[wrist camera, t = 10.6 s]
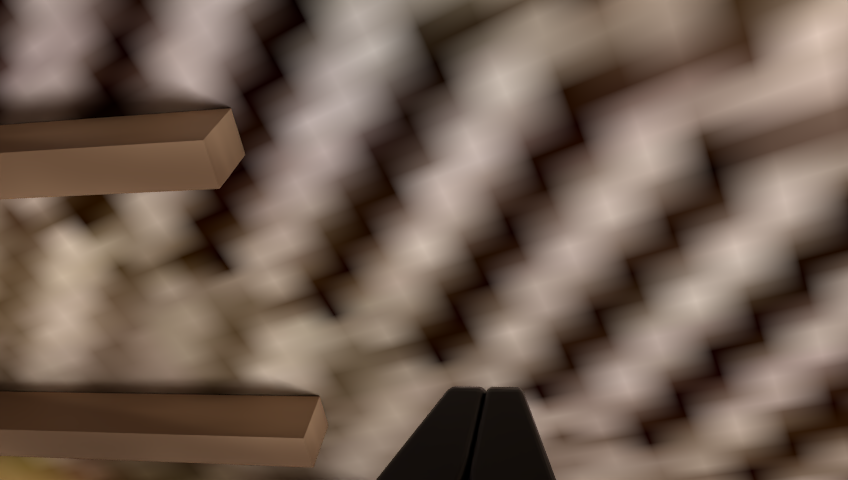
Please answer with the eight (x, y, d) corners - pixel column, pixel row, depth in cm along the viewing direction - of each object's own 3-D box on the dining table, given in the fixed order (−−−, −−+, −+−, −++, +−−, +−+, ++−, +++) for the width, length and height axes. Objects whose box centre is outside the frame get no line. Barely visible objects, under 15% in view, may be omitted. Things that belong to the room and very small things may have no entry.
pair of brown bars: (328, 425, 30) (313, 467, 28) (-31, 416, 33) (-62, 453, 31) (231, 108, 22) (203, 140, 21) (-212, 140, 26) (-264, 169, 24)
